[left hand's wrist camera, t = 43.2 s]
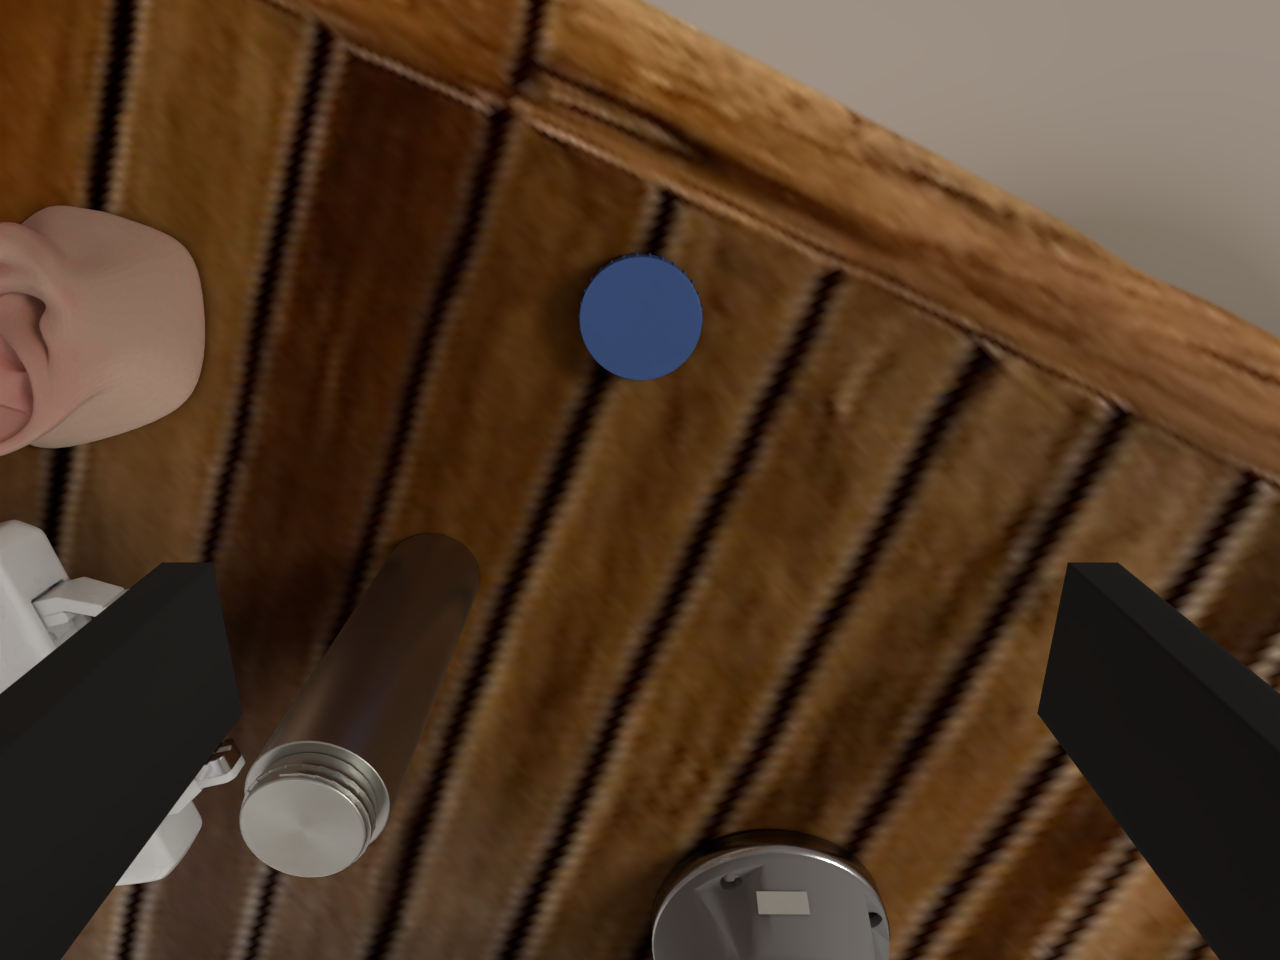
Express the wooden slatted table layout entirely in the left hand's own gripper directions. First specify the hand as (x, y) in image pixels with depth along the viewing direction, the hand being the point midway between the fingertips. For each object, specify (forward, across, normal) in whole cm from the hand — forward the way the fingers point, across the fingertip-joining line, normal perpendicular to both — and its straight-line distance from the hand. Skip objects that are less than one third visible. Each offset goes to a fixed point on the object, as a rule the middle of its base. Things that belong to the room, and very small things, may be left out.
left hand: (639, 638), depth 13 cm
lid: (+28, 0, 0) cm, 29 cm away
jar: (+30, +12, +14) cm, 35 cm away
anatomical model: (+30, +28, 0) cm, 41 cm away
